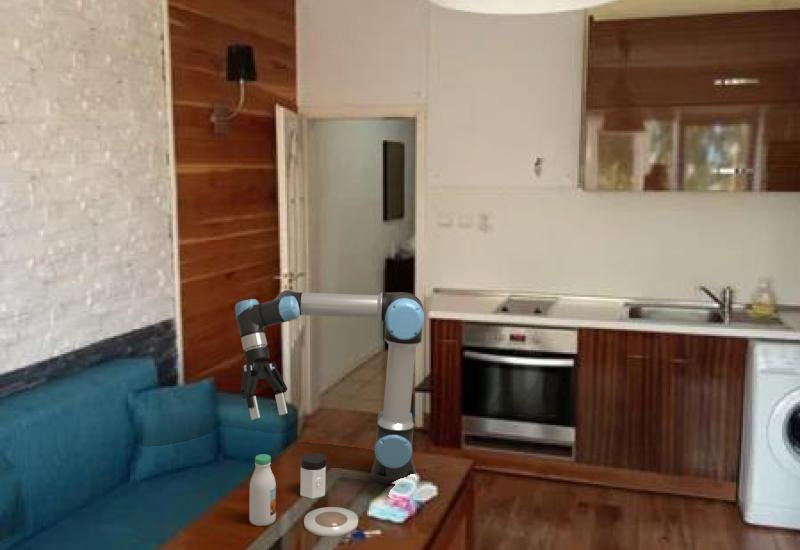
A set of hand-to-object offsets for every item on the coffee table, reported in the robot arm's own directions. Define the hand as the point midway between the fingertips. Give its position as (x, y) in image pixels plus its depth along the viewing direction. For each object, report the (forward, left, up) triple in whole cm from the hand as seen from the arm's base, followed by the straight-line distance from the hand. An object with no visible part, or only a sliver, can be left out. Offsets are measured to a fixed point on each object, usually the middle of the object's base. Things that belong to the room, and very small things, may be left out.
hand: (270, 416), depth 234 cm
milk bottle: (+2, +11, -29) cm, 31 cm away
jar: (-14, -6, -29) cm, 32 cm away
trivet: (-18, +15, -28) cm, 37 cm away
